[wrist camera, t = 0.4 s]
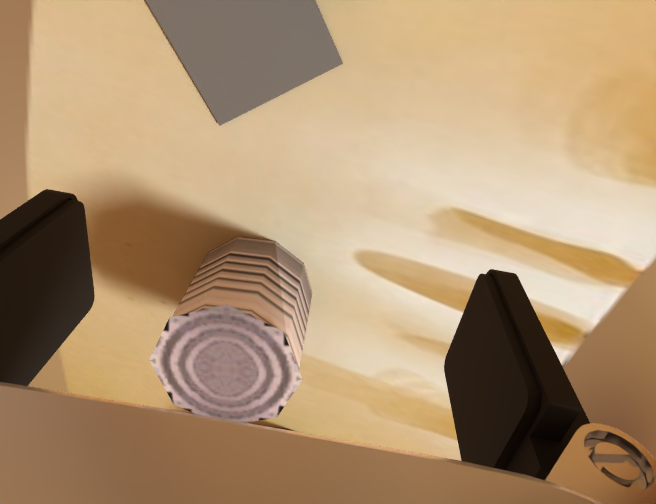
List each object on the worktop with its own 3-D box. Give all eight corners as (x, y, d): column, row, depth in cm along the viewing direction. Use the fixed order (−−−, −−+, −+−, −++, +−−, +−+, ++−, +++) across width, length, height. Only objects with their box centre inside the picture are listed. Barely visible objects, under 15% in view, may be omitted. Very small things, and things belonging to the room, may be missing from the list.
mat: (247, -154, 29) (246, -155, 29) (342, 63, 35) (342, 63, 35) (111, -60, 32) (109, -61, 32) (220, 124, 38) (219, 125, 38)
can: (185, 306, 48) (136, 396, 38) (217, 216, 43) (169, 293, 33) (288, 345, 50) (268, 441, 40) (331, 263, 45) (321, 350, 34)
